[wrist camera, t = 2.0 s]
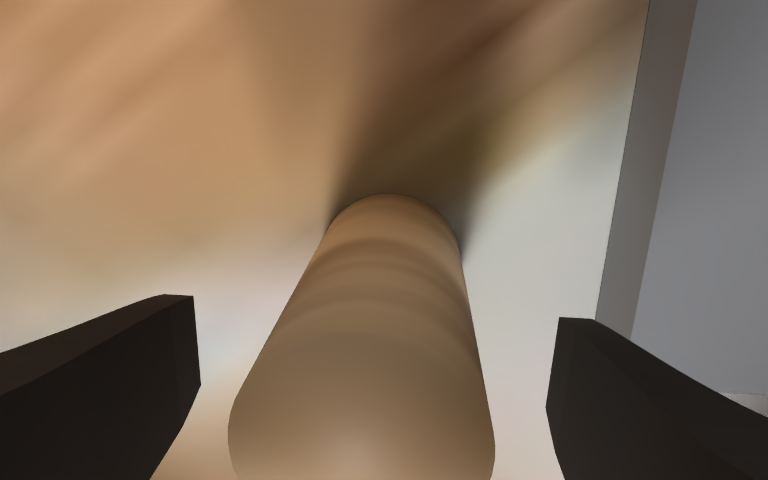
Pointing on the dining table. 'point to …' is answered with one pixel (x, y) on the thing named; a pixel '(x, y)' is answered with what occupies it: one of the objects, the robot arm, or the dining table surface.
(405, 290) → the peg
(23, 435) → the robot arm
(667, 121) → the docking block
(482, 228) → the dining table surface
